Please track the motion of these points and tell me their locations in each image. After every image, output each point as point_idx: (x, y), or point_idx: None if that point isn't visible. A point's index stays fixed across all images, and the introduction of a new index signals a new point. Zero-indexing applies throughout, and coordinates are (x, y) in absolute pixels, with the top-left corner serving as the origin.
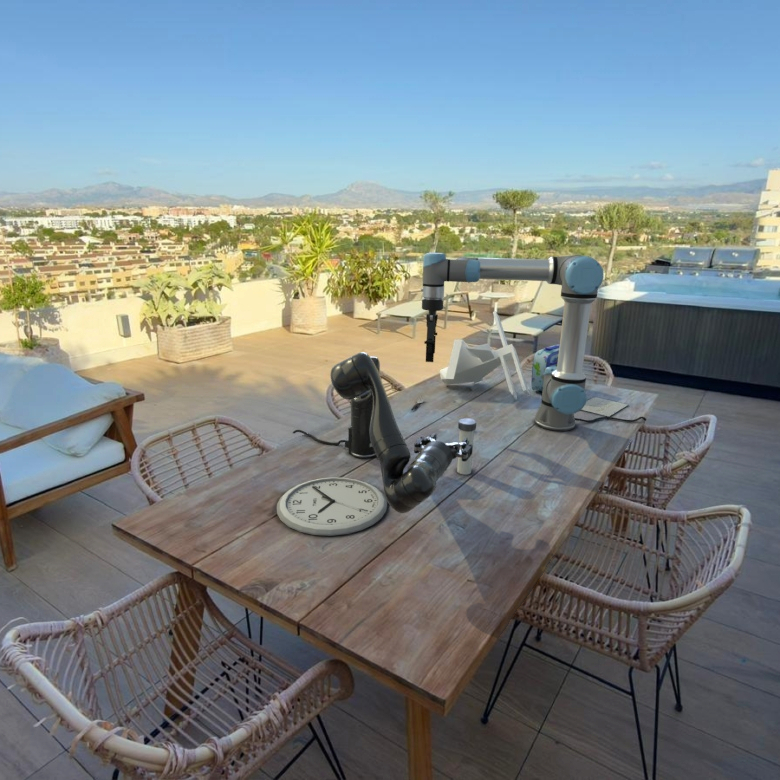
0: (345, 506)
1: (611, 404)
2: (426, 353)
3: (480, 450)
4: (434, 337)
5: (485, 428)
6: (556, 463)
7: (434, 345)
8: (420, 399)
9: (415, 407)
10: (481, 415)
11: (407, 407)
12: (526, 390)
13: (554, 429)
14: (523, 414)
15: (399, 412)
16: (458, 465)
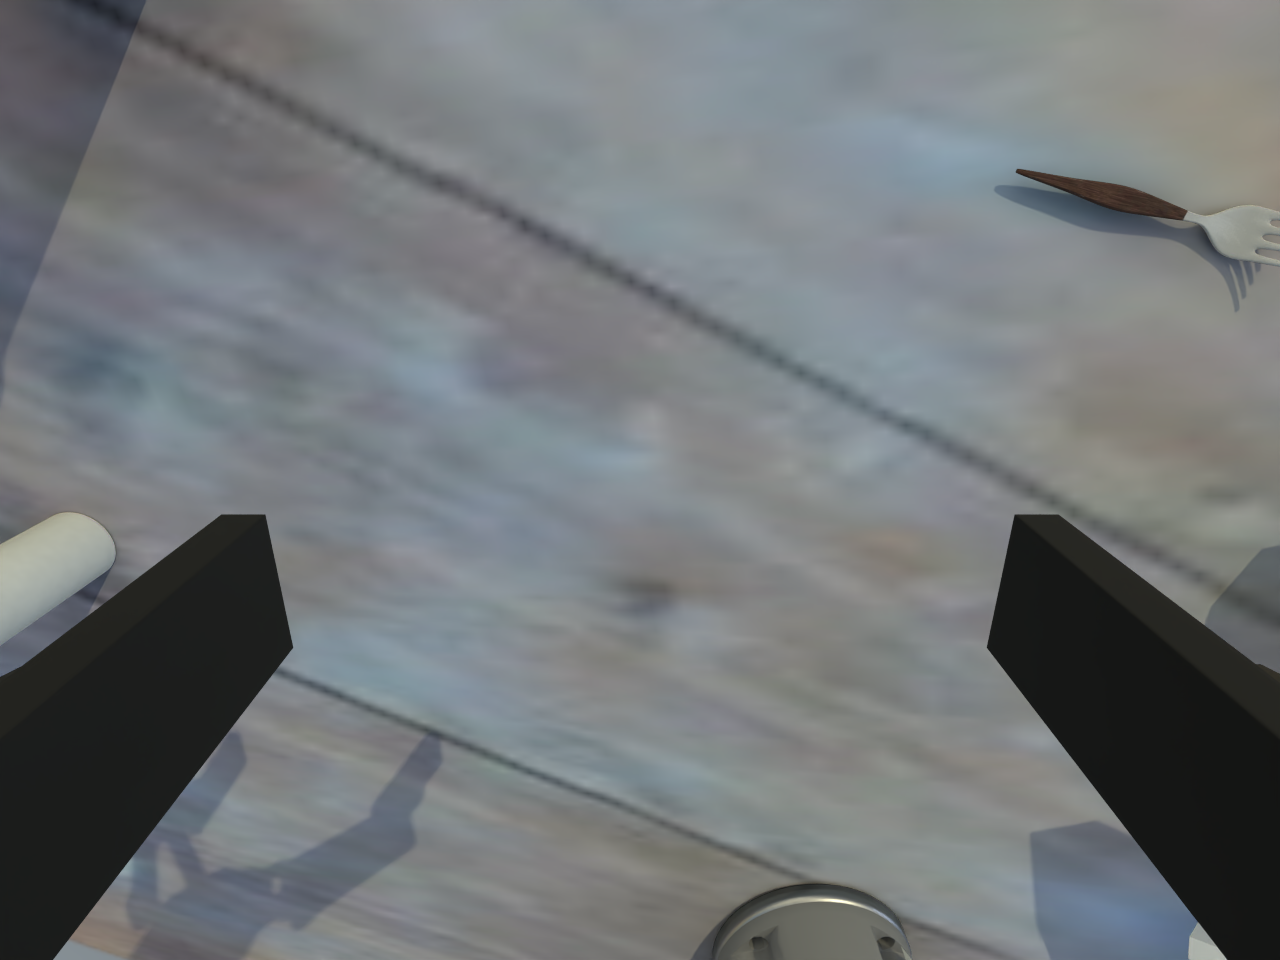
0: None
1: None
2: (100, 621)
3: (377, 626)
4: (1248, 950)
5: (708, 663)
6: (332, 898)
7: (1082, 753)
8: (1278, 233)
9: (1092, 201)
10: (930, 652)
11: (1121, 126)
12: (1189, 955)
13: (714, 947)
14: (951, 850)
15: (994, 63)
16: (21, 533)
